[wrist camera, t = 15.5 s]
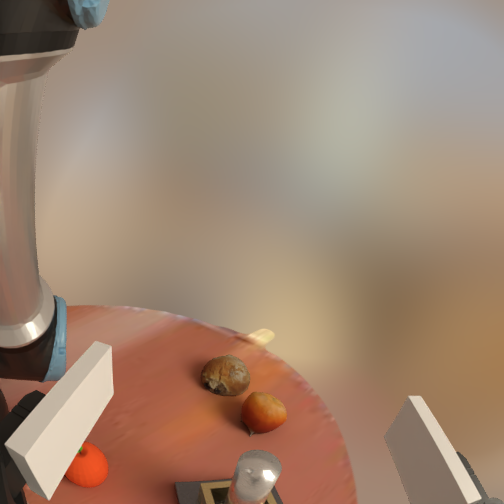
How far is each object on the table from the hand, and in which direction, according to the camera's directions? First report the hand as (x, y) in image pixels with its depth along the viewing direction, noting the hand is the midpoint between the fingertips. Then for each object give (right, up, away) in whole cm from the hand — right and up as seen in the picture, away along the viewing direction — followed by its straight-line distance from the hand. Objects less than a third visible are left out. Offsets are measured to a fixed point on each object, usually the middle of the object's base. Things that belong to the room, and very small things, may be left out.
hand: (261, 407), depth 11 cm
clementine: (-24, -25, +17) cm, 38 cm away
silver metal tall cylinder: (-2, -28, +17) cm, 33 cm away
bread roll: (-6, -21, +48) cm, 53 cm away
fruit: (+1, -25, +38) cm, 45 cm away
